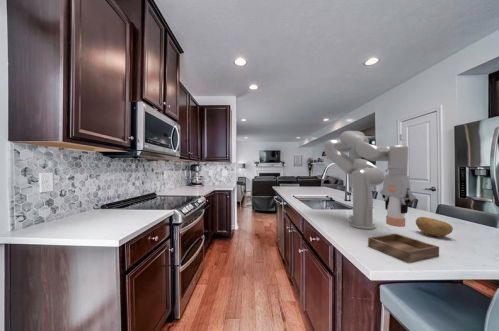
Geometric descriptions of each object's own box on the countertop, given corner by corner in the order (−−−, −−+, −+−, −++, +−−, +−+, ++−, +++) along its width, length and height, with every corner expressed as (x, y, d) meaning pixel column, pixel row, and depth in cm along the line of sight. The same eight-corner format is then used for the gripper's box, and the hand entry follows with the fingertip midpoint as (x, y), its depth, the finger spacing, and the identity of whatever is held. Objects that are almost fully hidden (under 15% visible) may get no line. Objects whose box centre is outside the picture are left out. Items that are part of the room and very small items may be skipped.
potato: (444, 241, 93) (445, 223, 93) (410, 232, 107) (410, 216, 107) (458, 239, 97) (458, 221, 97) (423, 230, 110) (423, 214, 110)
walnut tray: (368, 246, 88) (368, 237, 88) (396, 241, 93) (396, 233, 93) (408, 262, 73) (408, 252, 73) (439, 256, 78) (439, 246, 78)
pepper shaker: (408, 227, 94) (410, 184, 94) (390, 226, 96) (391, 183, 95) (400, 222, 102) (401, 182, 101) (383, 221, 103) (384, 181, 102)
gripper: (374, 171, 105) (373, 207, 105) (411, 173, 89) (409, 216, 89) (385, 171, 107) (384, 206, 108) (423, 173, 91) (422, 215, 92)
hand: (395, 210), depth 98 cm, fingers closed on pepper shaker, 6 cm apart
